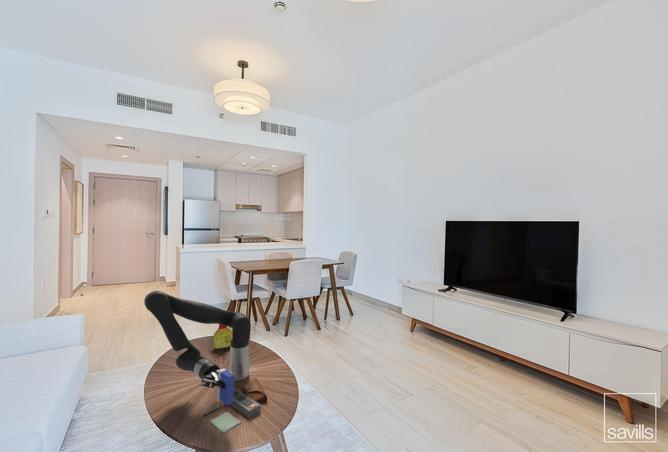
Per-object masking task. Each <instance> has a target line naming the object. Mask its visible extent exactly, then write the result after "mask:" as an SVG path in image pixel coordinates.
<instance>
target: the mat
mask: <svg viewBox="0 0 668 452" xmlns="http://www.w3.org/2000/svg"><path fill="white" fill-rule="evenodd" d="M209 423H210V424H212V425H213V426H214V427H215V428H216V429H218V430H219V431H220V432H221V433H222V434H225V433H227V432H228V431H230V430H232V429H233V428H234V427H236V426H238V425H240V424H241V423H242V422H241V421H240V420H239V419H238V418H236V417H235V416H233V414H231V413H230V412H228V411H226V412H224V413H222V414H220V415H218V416H217V417H214V418H213V419H211V420H209Z"/></svg>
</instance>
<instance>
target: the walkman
mask: <svg viewBox="0 0 668 452" xmlns="http://www.w3.org/2000/svg"><path fill="white" fill-rule="evenodd" d="M220 369H221V368H220ZM218 379H219V380H220V381H222V382H223V383H225V385H226V386H225V389H221V388H220V387H216V399H217V400H219V401H220V402H222V404H223V403H225V404H226V405H225V406H229V405H230V404H231V403H233V398H234V389H235V381H234V379H235V375H234V374H233V373H232V372H229V371H228V370H227V369H226V368H222V369H221V370H218ZM230 406H231V405H230Z"/></svg>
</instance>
